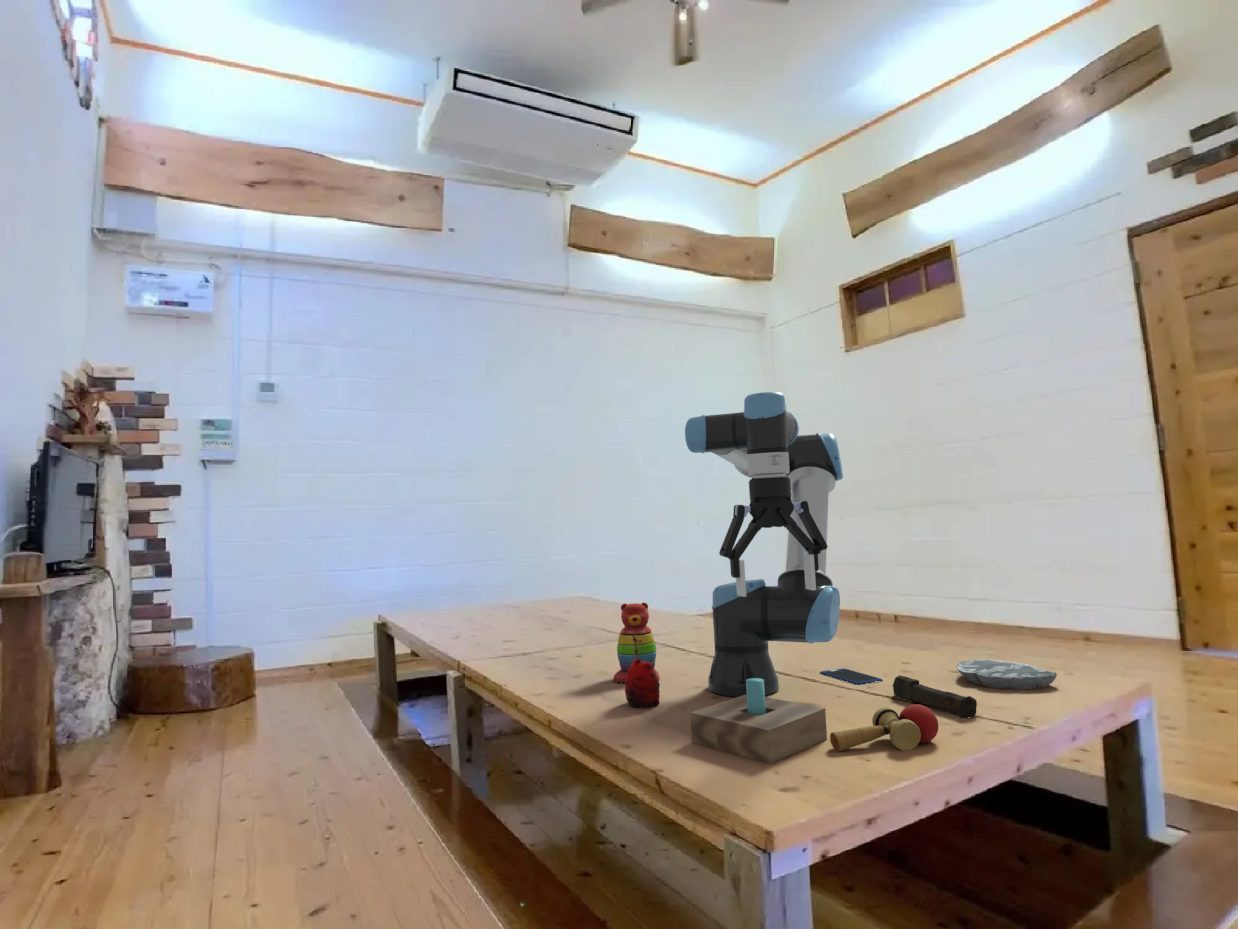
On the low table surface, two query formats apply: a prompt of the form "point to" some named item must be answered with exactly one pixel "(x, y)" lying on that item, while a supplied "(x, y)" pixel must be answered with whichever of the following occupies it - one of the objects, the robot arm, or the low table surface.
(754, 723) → the hole block
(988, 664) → the brain slice
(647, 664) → the red clay folk toy
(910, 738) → the kendama
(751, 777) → the low table surface
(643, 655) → the stacking bear
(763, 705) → the peg
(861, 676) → the cell phone
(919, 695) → the hand tool
